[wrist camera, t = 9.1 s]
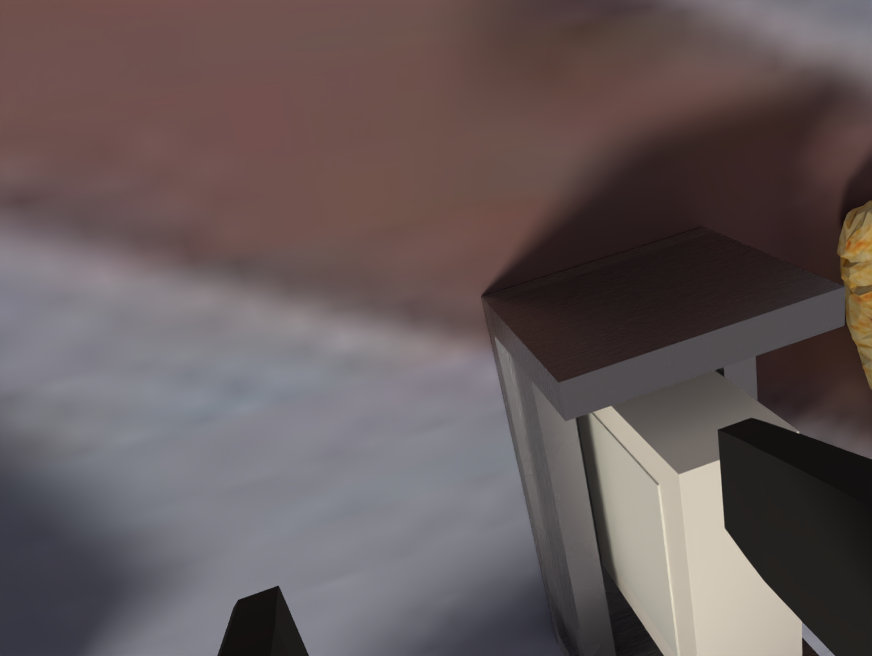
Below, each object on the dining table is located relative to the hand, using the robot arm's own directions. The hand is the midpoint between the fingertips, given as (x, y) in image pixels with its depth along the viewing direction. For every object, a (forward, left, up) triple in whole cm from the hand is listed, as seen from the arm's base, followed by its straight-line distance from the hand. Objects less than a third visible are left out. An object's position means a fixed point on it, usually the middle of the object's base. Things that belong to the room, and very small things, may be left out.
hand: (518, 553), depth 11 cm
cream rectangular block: (-7, -6, -9) cm, 13 cm away
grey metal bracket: (-7, -6, -10) cm, 14 cm away
